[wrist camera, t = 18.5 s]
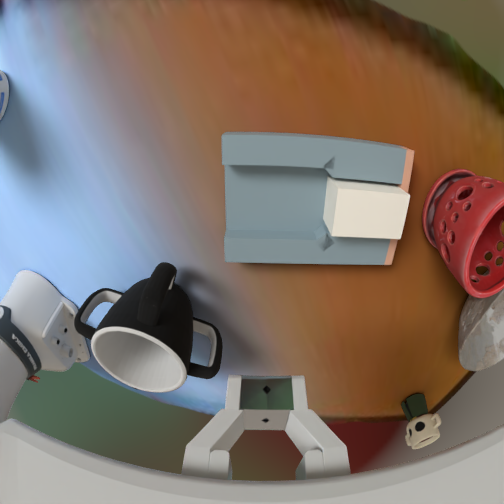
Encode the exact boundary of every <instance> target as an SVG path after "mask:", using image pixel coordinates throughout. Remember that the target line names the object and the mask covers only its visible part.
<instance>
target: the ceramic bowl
mask: <svg viewBox="0 0 504 504" xmlns="http://www.w3.org/2000/svg"><path fill="white" fill-rule="evenodd" d="M500 265H502V264H500ZM500 265H497V266H500ZM487 274H489V270H488V271H486V272H485V273H484V274H483V275H487ZM458 354H459V361H460V363H461V365H462V367H463V368H465V369H468V370H471V371H480V370H484V369H486V368H488V367H491V366H493V365H494V364H496V363H498V362H499V361H500V360H502V359H503V358H504V288H503V289H502V290H501V291H499V292H497V293H496V294H494V295H492V296H490V297H486V298H476V297H473V296H471V295H470V294H469V296H468V298H467V300H466V302H465V304H464V306H463V309H462V312H461V315H460V321H459V335H458Z"/></svg>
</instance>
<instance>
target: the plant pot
mask: <svg viewBox="0 0 504 504" xmlns="http://www.w3.org/2000/svg"><path fill="white" fill-rule="evenodd" d="M503 221H504V183H503V182H501V181H498V180H495V179H492V178H489V177H483V176H477V175H476V174H474V173H473V172H471V171H469V170H466V169H455V170H452V171H449V172H447V173H445V174H444V175H442V176H441V177H440V178H439V179H438V180H437V181H436V182H435V183H434V184H433V186H432V187H431V189H430V191H429V193H428V195H427V197H426V200H425V203H424V208H423V214H422V223H423V229H424V233H425V235H426V237H427V239H428V241H429V242H430V243H431V244H432V245H433V246H434V247H435V248H437V249H438V250H439V253H440V255H441V257H442V259H443V261H444V262H445V264H446V266H447V268H448V269H449V270H450V272H451V273H452V274H453V276H454V277H455V278H456V280H457V281H458V282H459V284H460V285H461V286H462V287H463V288H464V289H465V291H466V292H467V293H468V294H470V295H471V296H473V297H476V298H486V297H490V296H492V295H494V294H496V293H497V292H499V291H501V290H502V289H503V288H504V247H503V249H502V250H501V251H498V250H497V244H498V243H499V242H503V244H504V235H503V234H502V231H501V225H502V223H503ZM487 253H491V254H492V255H493V256H492V258H491V260H488V261H487V260H486V259H485V255H486V254H487ZM498 258H502V259H503V263H502V265H500V266H497V265H496V260H497V259H498ZM479 266H485V267H487V268H488V270H489V274H487V275H479V274H477V272H476V268H477V267H479ZM471 279H474V280H476V281H477V282H473V281H472V280H471Z"/></svg>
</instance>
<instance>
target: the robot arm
mask: <svg viewBox="0 0 504 504" xmlns="http://www.w3.org/2000/svg"><path fill="white" fill-rule="evenodd" d="M77 312H78V309H77V307H76V306H75V304H73V303H72V302H71V301H69V300H68V299H66V298H65V297H63V296H62V295H61V294H60V293H59V292H58V291H57V290H56V288H55V287H54V286H53V285H52V284H51V283H50V282H48V281H47V280H46V279H45V278H43V277H42V276H40V275H39V274H37V273H35V272H32V271H29V270H22V271H20V272H18V273H17V274H16V276H15V278H14V281H13V283H12V285H11V286H10V288H9V290H8V291H7V293H6V295H5V296H4V298H3V299H2V301H1V302H0V504H504V424H502V425H500V426H498V427H496V428H494V429H492V430H490V431H488V432H486V433H484V434H482V435H479V436H477V437H475V438H473V439H471V440H468V441H466V442H463V443H461V444H459V445H456V446H454V447H451V448H448V449H446V450H443V451H440V452H437V453H434V454H432V455H428V456H425V457H422V458H419V459H416V460H412V461H409V462H405V463H402V464H398V465H394V466H390V467H386V468H381V469H377V470H372V471H367V472H361V473H356V474H350V468H349V461H348V454H347V448H346V446H345V444H343V442H341V440H340V439H339V438H338V437H337V436H336V435H335V434H334V433H333V432H332V431H331V430H330V429H329V427H328V426H327V425H326V424H325V423H324V422H323V421H322V420H321V419H320V418H319V417H318V416H317V414H316V413H315V412H314V411H313V410H312V409H308V402H307V393H306V385H305V378H304V376H244V375H229V377H228V384H227V394H226V404H225V409H221V410H220V411H219V412H218V413H217V414H216V415H215V416H214V417H213V418H212V419H211V421H210V422H209V423H208V424H207V425H206V426H205V427H204V428H203V429H202V430H201V431H200V432H199V433H198V434H197V435H196V436H195V437H194V439H192V440H191V441H190V442H189V444H187V446H186V451H185V456H184V462H183V468H182V474H181V475H180V474H174V473H168V472H163V471H158V470H153V469H148V468H144V467H139V466H135V465H131V464H128V463H124V462H120V461H116V460H113V459H110V458H106V457H103V456H100V455H97V454H94V453H91V452H88V451H85V450H83V449H80V448H77V447H74V446H72V445H69V444H67V443H64V442H62V441H60V440H57V439H55V438H53V437H50V436H48V435H46V434H44V433H42V432H40V431H37V430H35V429H33V428H31V427H29V426H28V425H26V424H23V423H22V422H20V421H18V420H15V419H9V420H7V417H8V414H9V411H10V409H11V406H12V404H13V402H14V400H15V398H16V396H17V394H18V392H19V391H20V389H21V387H22V385H23V383H24V381H25V380H26V379H27V380H29V379H30V380H32V381H34V382H38V381H36V380H34V379H40V378H39V377H37V376H34V374H35V373H37V372H38V371H39V370H49V371H66V370H68V369H69V368H70V367H71V366H72V365H73V363H74V362H86V361H88V360H89V359H90V354H89V350H88V347H87V344H86V340H85V337H84V336H82V335H81V334H79V333H78V332H77V331H76V329H75V326H74V319H75V316H76V314H77ZM244 430H285V431H286V433H287V434H288V436H289V437H290V438H291V440H292V441H293V442H294V444H295V445H296V447H297V448H298V450H299V451H300V452H301V454H302V455H303V458H302V460H301V462H300V464H299V466H298V467H297V469H296V480H293V481H238V480H232V466H231V461H230V455H229V453H228V451H229V450H230V449H231V447H232V446H233V445H234V443H235V442H236V441H237V439H238V438H239V437H240V435H241V434H242V433H243V431H244Z"/></svg>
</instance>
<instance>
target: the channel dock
mask: <svg viewBox="0 0 504 504" xmlns="http://www.w3.org/2000/svg"><path fill="white" fill-rule="evenodd" d="M413 158H414V151H413V150H411V149H408V148H406V147H403V146H399V145H393V144H387V143H381V142H374V141H367V140H360V139H352V138H343V137H333V136H323V135H310V134H295V133H274V132H225V133H224V134H222V165H225V202H226V233H225V237H224V248H225V262H244V263H292V264H356V265H391V264H392V260H393V256H394V252H395V249H396V245H397V241H398V239H385V238H363V237H339V236H331V234H330V232H329V230H328V228H327V226H326V224H325V222H324V220H323V215H324V206H325V197H326V188H327V178H328V176H331V177H333V178H345V179H356V180H367V181H377V182H386V183H394V184H395V185H397V186H398V187H400V188H401V189H402V190H404V191H405V192H406V193H408V189H409V183H410V178H411V171H412V165H413Z"/></svg>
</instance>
